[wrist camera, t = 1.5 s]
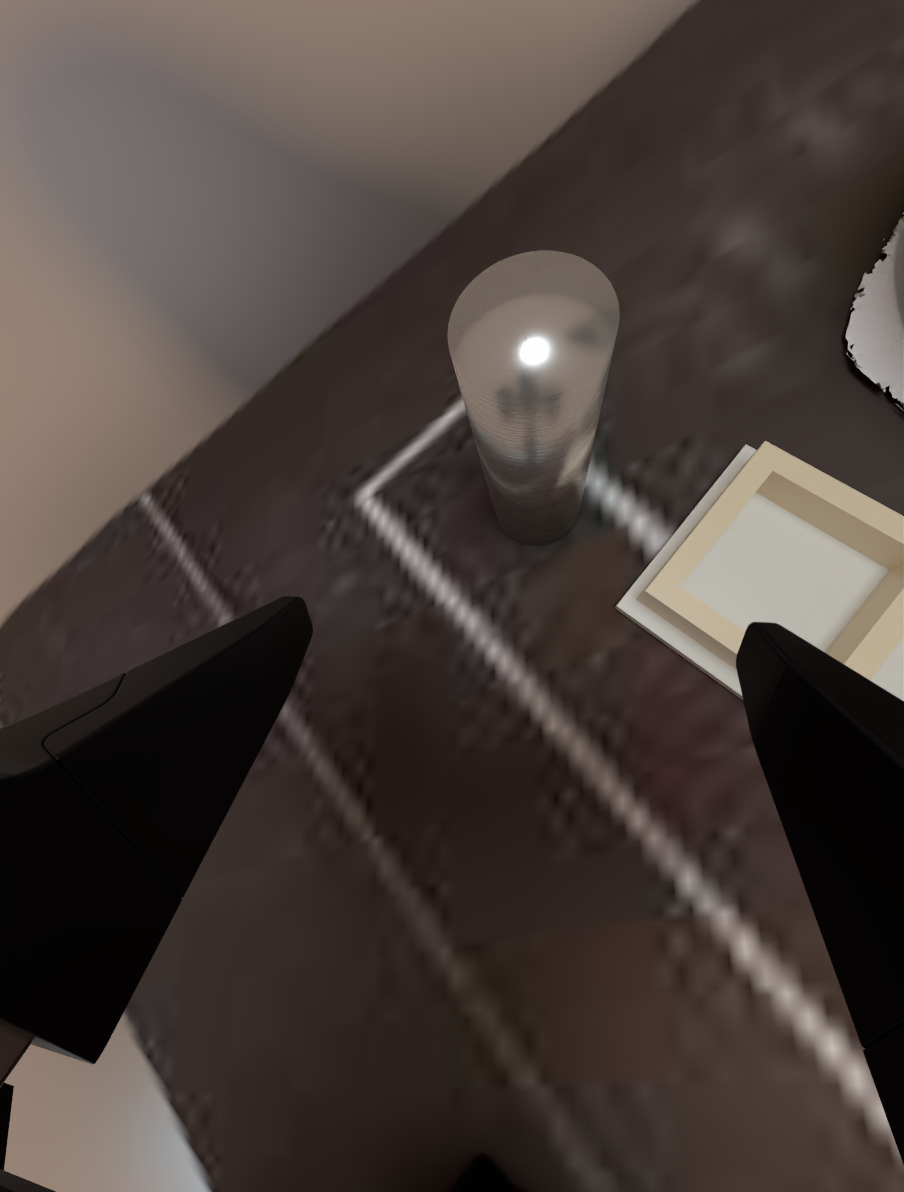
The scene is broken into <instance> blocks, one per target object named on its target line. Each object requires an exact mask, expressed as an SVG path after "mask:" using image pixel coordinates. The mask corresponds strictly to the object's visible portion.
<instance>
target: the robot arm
mask: <svg viewBox="0 0 904 1192" xmlns="http://www.w3.org/2000/svg"><path fill="white" fill-rule="evenodd" d="M312 634H313V626H312V622H311V619H310V616H309V613H308V610H307V606H306V603H305V601H304V600H303V599H302V598H301V597H292V596H284V597H281V598H279V599H277V600H275V601H273V602H271V603H269V604H267V605H265V606H262V607H260V608H258V609H256V610H254V611H252V612H250V613H248V614H246V615H244V616H242V617H240V618H238V619H235V620H233V621H231V622H229V623H227V624H225V625H223V626H221V627H219V628H217V629H215V630H213V631H210V632H208V633H206V634H204V635H202V636H200V637H198V638H196V639H194V640H192V641H190V642H188V643H186V644H183V645H181V646H179V647H177V648H175V649H173V650H171V651H169V652H167V653H165V654H163V655H161V656H158V657H156V658H154V659H152V660H150V661H148V662H146V663H144V664H142V665H140V666H138V667H136V668H134V669H131V670H129V671H128V672H127V674H125V673H123V674H121V675H119V676H117V677H115V678H113V679H110V680H108V681H106V682H104V683H102V684H100V685H98V686H96V687H93V688H91V689H89V690H87V691H85V692H83V693H81V694H78V695H76V696H74V697H72V698H70V699H67V700H65V701H63V702H60V703H58V704H56V705H54V706H51V707H49V708H47V709H44V710H42V711H40V712H37V713H35V714H33V715H30V716H28V717H26V718H23V719H21V720H19V721H16V722H14V723H12V724H9V725H7V726H5V727H2V728H0V1192H55V1191H53V1190H50V1189H48V1188H46V1187H43V1186H40V1185H38V1184H35V1183H33V1182H31V1181H28V1180H26V1179H23V1178H21V1177H18V1176H16V1175H13V1174H11V1173H8V1172H6V1171H4V1164H5V1155H6V1147H7V1138H8V1129H9V1122H10V1112H11V1104H12V1096H13V1088H14V1086H12V1085H9V1084H6V1083H4V1082H5V1080H6V1079H7V1077H8V1076H9V1074H10V1073H11V1071H12V1070H13V1069H14V1067H15V1066H16V1064H17V1063H18V1062H19V1060H20V1059H21V1057H22V1055H23V1054H24V1053H25V1052H26V1050H27V1049H28V1047H29V1046H30V1044H32V1045H35V1046H38V1047H41V1048H44V1049H47V1050H50V1051H53V1052H57V1053H60V1054H63V1055H66V1056H69V1057H72V1058H75V1059H78V1060H81V1061H84V1062H87V1063H90V1064H95V1063H96V1061H97V1060H98V1058H99V1057H100V1055H101V1053H102V1052H103V1050H104V1048H105V1046H106V1045H107V1043H108V1041H109V1039H110V1037H111V1035H112V1033H113V1031H114V1029H115V1028H116V1026H117V1024H118V1022H119V1020H120V1018H121V1016H122V1014H123V1012H124V1010H125V1008H126V1006H127V1005H128V1003H129V1001H130V999H131V997H132V995H133V993H134V991H135V989H136V987H137V985H138V983H139V981H140V980H141V978H142V976H143V974H144V972H145V970H146V968H147V966H148V964H149V962H150V960H151V958H152V957H153V955H154V953H155V951H156V949H157V947H158V945H159V943H160V941H161V939H162V937H163V936H164V934H165V932H166V930H167V928H168V926H169V924H170V922H171V920H172V918H173V916H174V915H175V913H176V911H177V909H178V907H179V905H180V903H181V901H182V899H181V898H183V897H184V895H185V893H186V891H187V889H188V887H189V885H190V883H191V881H192V879H193V878H194V876H195V874H196V872H197V870H198V868H199V866H200V864H201V862H202V860H203V858H204V856H205V855H206V853H207V851H208V849H209V847H210V845H211V843H212V841H213V839H214V837H215V835H216V834H217V832H218V830H219V828H220V826H221V824H222V822H223V820H224V818H225V816H226V814H227V812H228V811H229V809H230V807H231V805H232V803H233V801H234V799H235V797H236V795H237V793H238V791H239V789H240V788H241V786H242V784H243V782H244V780H245V778H246V776H247V774H248V772H249V770H250V768H251V767H252V765H253V763H254V761H255V759H256V757H257V755H258V753H259V751H260V749H261V747H262V745H263V744H264V742H265V740H266V738H267V736H268V734H269V732H270V730H271V728H272V726H273V724H274V722H275V721H276V719H277V717H278V715H279V713H280V711H281V709H282V707H283V705H284V703H285V701H286V699H287V697H288V695H289V693H290V691H291V689H292V686H293V684H294V681H295V679H296V676H297V674H298V671H299V669H300V666H301V664H302V661H303V658H304V656H305V653H306V651H307V648H308V646H309V643H310V641H311V638H312ZM736 669H737V674H738V678H739V683H740V687H741V692H742V697H743V701H744V706H745V710H746V715H747V719H748V724H749V728H750V732H751V736H752V740H753V743H754V746H755V749H756V753H757V755H758V758H759V761H760V764H761V767H762V769H763V772H764V775H765V778H766V780H767V783H768V786H769V789H770V792H771V794H772V797H773V800H774V803H775V806H776V808H777V811H778V814H779V817H780V820H781V822H782V825H783V828H784V831H785V834H786V836H787V839H788V842H789V845H790V847H791V850H792V853H793V856H794V859H795V861H796V864H797V867H798V870H799V873H800V875H801V878H802V881H803V884H804V887H805V889H806V892H807V895H808V898H809V901H810V903H811V906H812V909H813V912H814V914H815V917H816V920H817V923H818V926H819V928H820V931H821V934H822V937H823V940H824V942H825V945H826V948H827V951H828V954H829V956H830V959H831V962H832V965H833V968H834V970H835V973H836V976H837V979H838V981H839V984H840V987H841V990H842V993H843V995H844V998H845V1001H846V1004H847V1007H848V1009H849V1012H850V1015H851V1018H852V1021H853V1023H854V1026H855V1029H856V1032H857V1035H858V1037H859V1040H860V1043H861V1045H862V1046H863V1047H864V1048H865V1049H864V1050H863V1052H864V1055H865V1058H866V1061H867V1064H868V1066H869V1069H870V1072H871V1075H872V1078H873V1080H874V1083H875V1086H876V1089H877V1092H878V1094H879V1097H880V1100H881V1103H882V1106H883V1108H884V1111H885V1114H886V1117H887V1119H888V1122H889V1125H890V1128H891V1131H892V1133H893V1136H894V1139H895V1142H896V1145H897V1147H898V1150H899V1153H900V1156H901V1159H902V1161H903V1164H904V701H903V700H901V699H899V698H898V697H896V696H895V695H893V694H891V693H890V692H888V691H886V690H885V689H883V688H882V687H880V686H878V685H877V684H875V683H873V682H872V681H870V680H869V679H867V678H865V677H864V676H862V675H861V674H859V673H857V672H856V671H854V670H852V669H851V668H849V667H848V666H846V665H844V664H843V663H841V662H839V661H838V660H836V659H835V658H833V657H831V656H830V655H828V654H827V653H825V652H823V651H822V650H820V649H818V648H817V647H815V646H814V645H812V644H810V643H809V642H807V641H805V640H804V639H802V638H801V637H799V636H797V635H796V634H794V633H793V632H791V631H789V630H788V629H786V628H784V627H783V626H781V625H779V624H777V623H771V622H752V623H750V624H749V625H748V627H747V629H746V631H745V634H744V637H743V640H742V642H741V645H740V648H739V650H738V653H737V657H736ZM479 1175H484V1176H485V1177H487V1180H483V1179H481V1178H480V1177H479ZM451 1192H515V1191H514V1189H513V1188H512V1187H511V1186H510V1185H509V1183H508V1182H507V1181H506V1180H505V1178H504V1177H503V1176H502V1175H501V1174H500V1172H499V1171H498V1170H497V1169H496V1168H495V1166H494V1165H493V1164H492V1163H491V1162H490V1161H489V1160H488V1159H486V1158H483V1157H482V1158H478V1159H476V1160H475V1161H474V1162H473V1163H472V1165H471V1166H470V1167H469V1169H468V1170H467V1171H466V1172H465V1174H464V1175H463V1176H462V1178H461V1179H460V1180H459V1181H458V1183H457V1184H456V1185H455V1186H454V1188H453V1189H452V1190H451Z"/></svg>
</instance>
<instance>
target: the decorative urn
mask: <svg viewBox="0 0 904 1192" xmlns="http://www.w3.org/2000/svg"><path fill="white" fill-rule="evenodd" d="M892 233H893V235H891V237H890V239H889V240H890V242H887V246H885V247H884V248H883V250H882V251H881V253H886V254H887V257H886V259H880V260H879V261H878V262H877V263H876V264H875V265H874V266H875V268H874V269H873V273H871V274H866V273H865V274H864V276H863V279H862V282H861V284H860V286H859V288H858V290H857V292H856V294H855V296H854V297H855V298H856V300H855V301H854V302H853V304H854V305H853V306H852V308H855V310H854V311H853V312H852V313H851V317H850V322H849V325H848V328H847V332H846V339H847V341H848V350H849V351H850V352H851V353H852V354H853V357H854V358H853V357H852V358H853V359H852V360H853V361H854V363H855V366H856V367H857V368H858V369H860V371H861V372H862V373H863V374H865V375H866V376H867V377H868V378H869V379H870V380H871V381H873V382H874V383H875V384H877V385H878V386H879V387H880V388H881V389H882V390H883V391H884V392H885V391H886V389H885V388H886V387H888V386H889V385H890V387H889V391H890V392H891V394H892V397H893V398H894V399H896V398H898V401H900V402H901V404H904V213H903V214H902V217H901V218H900V220H899V222H898V225H897V226H896V227H895V228H894V230H893V232H892ZM884 239H885V238H884ZM864 287H865V288H864ZM863 288H864V291H863V292H862V293H860V290H861V289H863ZM852 308H851V309H852ZM853 344H854V346H853V348H852V350H851V348H850V346H851V345H853ZM847 355H848V353H847ZM849 358H850V357H849ZM850 359H851V358H850ZM895 404H896V403H895ZM896 405H897V406H898V407H899V405H898V404H896ZM903 406H904V405H903ZM899 408H900V409H901V410H903V409H902V407H899ZM903 411H904V410H903Z"/></svg>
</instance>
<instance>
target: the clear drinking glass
mask: <svg viewBox="0 0 904 1192" xmlns="http://www.w3.org/2000/svg"><path fill="white" fill-rule="evenodd" d="M618 325H619V304H618V300H617V296H616V293H615V291H614V289H613V286H612V284H611V283H610V282H609V280H608V279H607V277H606V276H605V275H604V274H603V273H602V272H601V271H600V270H599V269H598V268H597V267H595V266H594V265H593V264H591V263H590V262H588V261H586V260H585V259H583V258H580V257H578V256H575V255H572V254H568V253H565V252H558V251H531V252H526V253H521V254H518V255H515V256H511V257H509V258H506V259H504V260H502V261H499V262H498V263H496V264H494V265H492V266H490V267H489V268H487V269H486V270H485V271H483V272H482V273H480V274H479V275H478V276H477V277H476V278H475V279H473V281H472V282H471V283H470V284H469V285H468V286H467V287H466V288H465V290H464V291H463V292H462V294H461V295H460V297H459V298H458V300H457V302H456V304H455V306H454V308H453V311H452V313H451V317H450V320H449V325H448V345H449V351H450V354H451V358H452V361H453V365H454V368H455V372H456V376H457V379H458V383H459V386H460V390H461V393H462V397H463V400H464V404H465V408H466V411H467V415H468V418H469V422H470V425H471V429H472V433H473V436H474V440H475V443H476V447H477V450H478V454H479V458H480V461H481V465H482V468H483V472H484V475H485V479H486V483H487V486H488V490H489V493H490V497H491V500H492V504H493V507H494V511H495V515H496V518H497V521H498V523H499V525H500V527H501V528H502V530H503V531H504V532H505V533H506V534H507V535H508V536H509V537H510V538H512V539H513V540H515V541H517V542H519V543H522V544H525V545H533V546H539V545H546V544H549V543H552V542H555V541H557V540H559V539H560V538H562V537H563V536H564V535H566V534H567V533H568V532H569V531H570V530H571V528H572V527H573V526H574V524H575V522H576V520H577V518H578V515H579V510H580V505H581V501H582V496H583V491H584V487H585V482H586V477H587V472H588V468H589V463H590V458H591V453H592V449H593V444H594V439H595V434H596V430H597V425H598V420H599V415H600V411H601V406H602V401H603V396H604V392H605V387H606V382H607V377H608V373H609V368H610V363H611V359H612V354H613V349H614V344H615V340H616V335H617V330H618Z"/></svg>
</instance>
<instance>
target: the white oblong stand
mask: <svg viewBox="0 0 904 1192" xmlns="http://www.w3.org/2000/svg"><path fill="white" fill-rule="evenodd" d="M615 609H617V610H618V611H620V612H621V613H622V614H624V615H625V616H626V617H628V618H629V619H631V620H632V621H633V622H635V623H636V624H638V625H639V626H640V627H642V628H643V629H644V630H646V631H647V632H649V633H650V634H651V635H653V636H654V637H656V638H657V639H658V640H660V641H661V642H663V643H664V644H665V645H667V646H668V647H669V648H671V649H672V650H674V651H675V652H676V653H678V654H679V655H681V656H682V657H683V658H685V659H686V660H688V661H689V662H690V663H692V664H693V665H694V666H696V667H697V668H699V669H700V670H701V671H703V672H704V673H706V674H707V675H708V676H710V677H711V678H713V679H714V680H715V681H717V682H718V683H719V684H721V685H722V686H724V687H725V688H726V689H728V690H729V691H731V692H732V693H733V694H735V695H736V696H738V697H739V698H740V699H742V700H743V697H742V692H741V687H740V683H739V678H738V674H737V669H736V657H737V653H738V650H739V648H740V645H741V642H742V640H743V637H744V634H745V631H746V629H747V627H748V625H749V624H750V623H752V622H771V623H777V624H779V625H781V626H783V627H784V628H786V629H788V630H789V631H791V632H793V633H794V634H796V635H797V636H799V637H801V638H802V639H804V640H805V641H807V642H809V643H810V644H812V645H814V646H815V647H817V648H818V649H820V650H822V651H823V652H825V653H827V654H828V655H830V656H831V657H833V658H835V659H836V660H838V661H839V662H841V663H843V664H844V665H846V666H848V667H849V668H851V669H852V670H854V671H856V672H857V673H859V674H861V675H862V676H864V677H865V678H867V679H869V680H870V681H872V682H873V683H875V684H877V685H878V686H880V687H882V688H883V689H885V690H886V691H888V692H890V693H891V694H893V695H895V696H896V697H898V698H899V699H901V700H903V701H904V516H902V515H900V514H899V513H897V512H895V511H893V510H891V509H889V508H888V507H886V506H884V505H882V504H880V503H878V502H877V501H875V500H873V499H871V498H869V497H867V496H866V495H864V494H862V493H860V492H858V491H856V490H855V489H853V488H851V487H849V486H847V485H845V484H844V483H842V482H840V481H838V480H836V479H834V478H832V477H831V476H829V475H827V474H825V473H823V472H821V471H820V470H818V469H816V468H814V467H812V466H810V465H809V464H807V463H805V462H803V461H801V460H799V459H798V458H796V457H794V456H792V455H790V454H788V453H787V452H785V451H783V450H781V449H779V448H777V447H776V446H774V445H772V444H770V443H768V442H766V441H765V442H764V443H763V444H762V445H761V446H760V447H759V448H758V449H757V450H755V449H753V448H752V447H750V446H748V445H745V446H744V447H743V449H742V450H741V451H740V452H739V453H738V455H737V456H736V457H735V458H734V460H733V461H732V462H731V463H730V465H729V466H728V467H727V468H726V470H725V471H724V472H723V473H722V475H721V476H720V477H719V478H718V480H717V481H716V482H715V483H714V485H713V486H712V487H711V488H710V490H709V491H708V492H707V493H706V495H705V496H704V497H703V498H702V499H701V501H700V502H699V503H698V504H697V506H696V507H695V508H694V509H693V511H692V512H691V513H690V514H689V516H688V517H687V518H686V519H685V521H684V522H683V523H682V524H681V526H680V527H679V528H678V529H677V531H676V532H675V533H674V534H673V536H672V537H671V538H670V539H669V541H668V542H667V543H666V544H665V546H664V547H663V548H662V549H661V551H660V552H659V553H658V554H657V556H656V557H655V558H654V559H653V561H652V562H651V563H650V564H649V565H648V567H647V568H646V569H645V570H644V572H643V573H642V574H641V575H640V577H639V578H638V579H637V580H636V582H635V583H634V584H633V585H632V587H631V588H630V589H629V590H628V592H627V593H626V594H625V595H624V597H623V598H622V599H621V600H620V602H619V603H618V604H617V605H616V607H615Z"/></svg>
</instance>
